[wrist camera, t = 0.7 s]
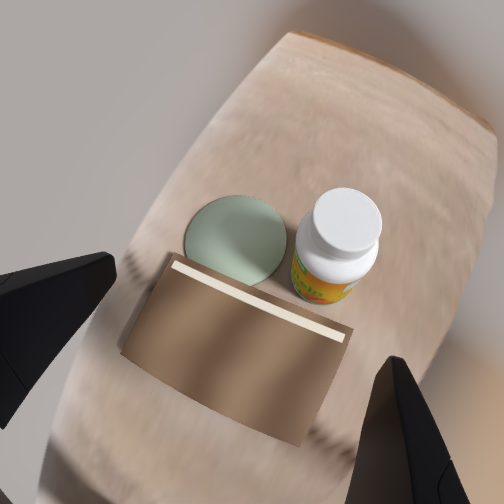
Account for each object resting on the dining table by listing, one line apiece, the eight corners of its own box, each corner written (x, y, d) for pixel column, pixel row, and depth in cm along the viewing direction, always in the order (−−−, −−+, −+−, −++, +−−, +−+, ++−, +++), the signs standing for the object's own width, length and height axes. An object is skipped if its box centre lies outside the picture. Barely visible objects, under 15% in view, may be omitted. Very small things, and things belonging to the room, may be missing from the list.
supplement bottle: (277, 271, 24) (277, 210, 15) (323, 234, 25) (344, 163, 16) (319, 320, 22) (349, 285, 13) (365, 278, 23) (411, 224, 14)
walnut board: (349, 331, 21) (354, 328, 20) (298, 443, 18) (299, 447, 17) (178, 257, 25) (174, 251, 24) (126, 354, 22) (119, 353, 21)
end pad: (282, 293, 23) (282, 292, 23) (177, 283, 24) (176, 282, 24) (288, 200, 27) (289, 198, 26) (196, 196, 28) (195, 194, 27)
